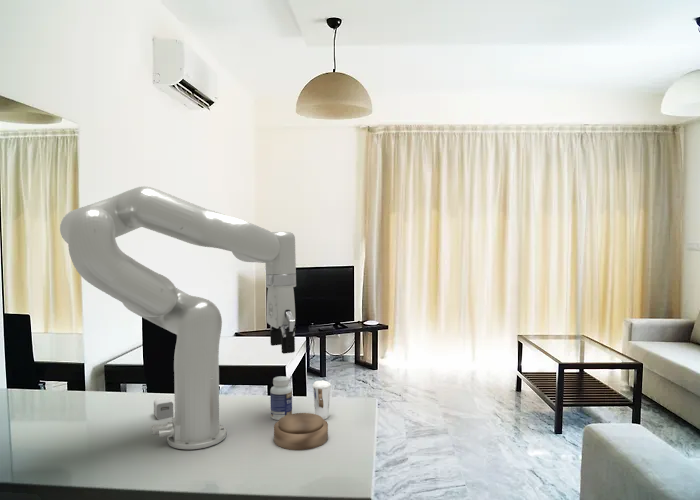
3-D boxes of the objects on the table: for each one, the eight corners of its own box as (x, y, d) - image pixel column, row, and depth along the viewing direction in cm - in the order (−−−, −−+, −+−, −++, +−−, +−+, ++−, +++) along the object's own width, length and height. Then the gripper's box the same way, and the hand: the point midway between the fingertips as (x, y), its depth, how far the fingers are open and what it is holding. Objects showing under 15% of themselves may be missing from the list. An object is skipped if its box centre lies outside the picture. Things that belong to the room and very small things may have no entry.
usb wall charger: (156, 420, 120) (156, 404, 120) (152, 411, 126) (152, 396, 126) (173, 417, 122) (173, 401, 122) (168, 409, 128) (168, 394, 128)
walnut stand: (283, 454, 100) (283, 435, 100) (267, 433, 111) (267, 416, 111) (336, 443, 105) (336, 425, 105) (316, 424, 116) (316, 408, 116)
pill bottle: (290, 420, 119) (290, 381, 119) (268, 420, 119) (268, 381, 119) (293, 413, 124) (293, 375, 124) (272, 413, 125) (272, 375, 124)
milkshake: (333, 420, 119) (333, 380, 119) (311, 420, 119) (311, 380, 119) (334, 414, 123) (334, 375, 123) (313, 414, 124) (313, 375, 123)
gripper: (257, 279, 128) (259, 343, 128) (276, 284, 112) (277, 358, 112) (285, 277, 131) (286, 340, 131) (306, 282, 115) (308, 354, 116)
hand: (282, 348), depth 122 cm, fingers open, 9 cm apart
